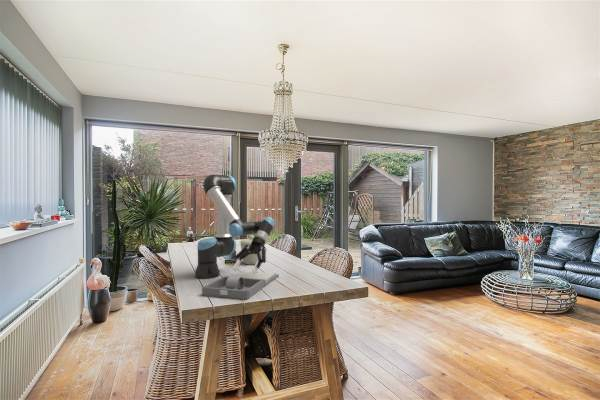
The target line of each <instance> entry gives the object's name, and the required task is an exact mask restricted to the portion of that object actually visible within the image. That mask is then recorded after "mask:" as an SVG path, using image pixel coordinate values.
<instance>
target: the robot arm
mask: <svg viewBox="0 0 600 400" xmlns="http://www.w3.org/2000/svg"><path fill="white" fill-rule="evenodd" d="M202 187H203V192H204V193H205V194H206V197H208V198H210V199H211V201H212V202H213V204H214V205H215V207H216V210H217V211H216V217H217V218H216V228H217V229H216V234H214V237H207V238H202V239H200V240H199V241H198V242H197V247H196V249H197V266H196V268H195V272H194V277H195V278H196V279H214V278H217V277H219V276H220V275H221V273H220V268H219V266H218V258H220V257H227V256H230V255H233V254H234V252H235V251H236V249H237V242H236V239H235V238H234V237H241V236H248V235H253V236H254V238H253V240H252V242H251V245H250V246H248V245H246V246H245V247H244V248H243V249H242V250H241V249H240V251H239V252H238V253H237V254H236V255H234V258H235V259H236V260H235V262H234V265H233V267H232V270H233V271H234V272H236V271H238V269H239V266H240V265H241V263H242V261H243V258H245V257H246V256H248V255H250V254H257V257H258V261H257V262H256V264H254V266H253V268H252V270H251V272H253V273H254V274H256V272H257V271H258V269H259V268H260V267H261V265H262V264H263V263H264V264H265V263H266V262H267V260H266V258H267V257H266V256H267V247H265V245H266V243H267V241H268V239H269V237H270V235H271V233H272V231H273V229H274V227H275V225H276V221H275V220H274V218H272V217H270V216H265V217H264V218H263V219H262V220H261V221H247V222H243V221H242V219H241V218H240V217H239V215H238V214H237V213H236V211H235V210H234V207H232V205H231V198H232V196H234V195H233V193H234V192H235V191H236V189H237V182H236V179H235V178H234V177H233V176H231V175H228V174H208V176H206V177H205V178H204V180H203V182H202ZM261 250H262V259H261V255H260V251H261ZM249 251H250V252H249Z"/></svg>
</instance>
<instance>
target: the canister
mask: <svg viewBox="0 0 600 400" xmlns="http://www.w3.org/2000/svg"><path fill="white" fill-rule="evenodd" d="M254 236H255V235H254V234H250V236H249V238H244V239H241V240H240V241H239V244H240V251H241V250H242V249H243V248H244V247H245V246H246V245H248V246H250V245H251V242H252V240H253V238H254ZM249 252H250V251H249ZM260 255H261V259H262V250H261V251H260ZM257 261H258V257H257V254H250V255H248V256H246V257H245V258H243V259H242V262H243V264H245V265H254V266H255V264H256V262H257Z"/></svg>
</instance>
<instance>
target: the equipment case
mask: <svg viewBox="0 0 600 400" xmlns="http://www.w3.org/2000/svg"><path fill="white" fill-rule="evenodd" d="M229 277H230V276H223V277H221V278H219V279H217V280H215V281H213V282H211V283H209V284H207V285H205V286H203V287H202V288H201V295H202V296H203V295H204V296H205V297H214V296H215V298H216V297H217V298H218V297H219V298H227V299H238V300H249V299H251V298H252V296H255V295H256V294H257V293H258V292H260V291H261V290H262V289H264V288H265V287H267V286H268V285H269V284H271V283H272V282H273V281H275V280H276V279H277V278H279V277H280V274H279V273H275V272H261V271H258V272H256V274H254V273H253V272H252V271H244V270H243V271H240V272H239V273H237V274H235V275H233V276H232V277H243V278H244V282H245V284H244V287H248V288H247V289H243V290H237V289H225V288H226V287H225V288H224V287H223V286H225V283H226V280H227V278H229ZM222 287H223V288H222Z"/></svg>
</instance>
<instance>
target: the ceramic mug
mask: <svg viewBox="0 0 600 400" xmlns="http://www.w3.org/2000/svg"><path fill="white" fill-rule="evenodd" d="M228 277H229V278H227V280H226V283H225V285H224V286H225V289H237V290H244V288H245V286H244V284H245V282H244V278H243V277H233V276H228Z"/></svg>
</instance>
